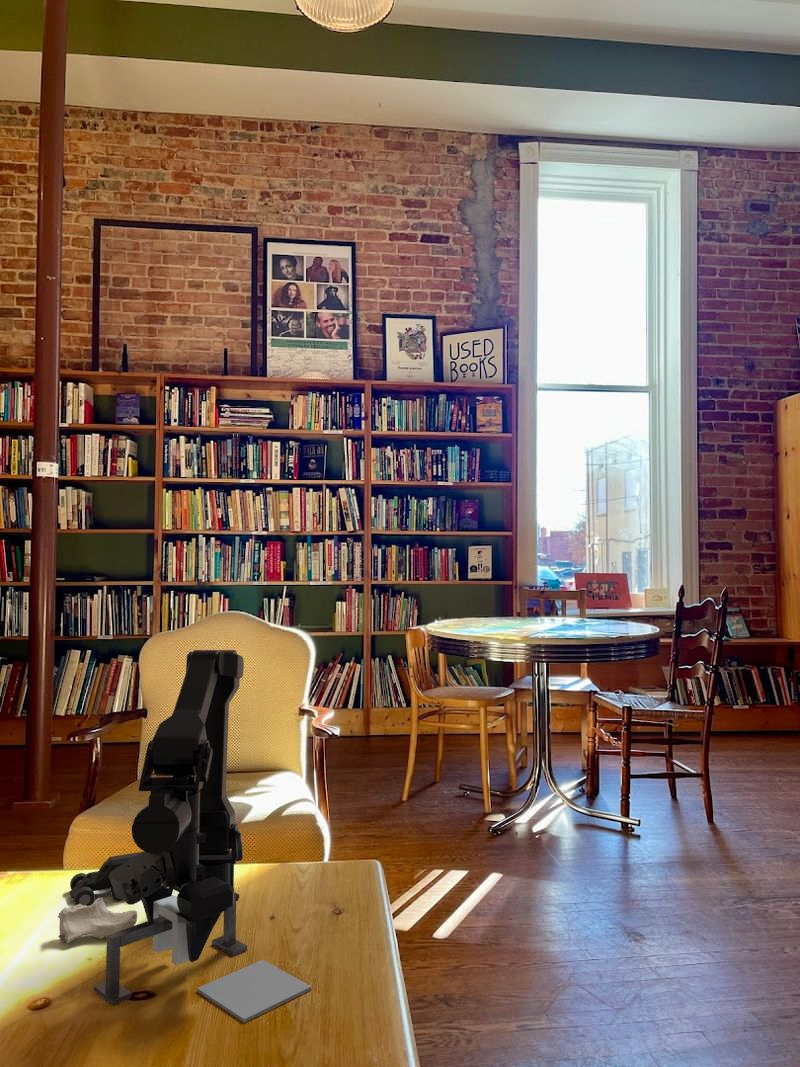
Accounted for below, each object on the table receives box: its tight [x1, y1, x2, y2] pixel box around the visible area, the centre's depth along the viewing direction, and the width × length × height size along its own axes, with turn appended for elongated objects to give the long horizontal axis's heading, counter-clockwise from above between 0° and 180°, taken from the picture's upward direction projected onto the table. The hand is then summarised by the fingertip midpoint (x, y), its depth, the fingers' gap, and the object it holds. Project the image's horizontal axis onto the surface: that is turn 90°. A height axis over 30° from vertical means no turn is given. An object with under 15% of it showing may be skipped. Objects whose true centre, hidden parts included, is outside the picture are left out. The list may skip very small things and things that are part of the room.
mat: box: [196, 959, 312, 1024], centre depth 95 cm, size 10×10×1 cm
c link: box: [152, 894, 190, 966], centre depth 101 cm, size 3×6×6 cm, turn 47°
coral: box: [57, 897, 138, 944], centre depth 111 cm, size 6×10×4 cm, turn 117°
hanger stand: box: [93, 894, 248, 1006], centre depth 101 cm, size 19×5×7 cm, turn 137°
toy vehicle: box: [68, 851, 143, 906], centre depth 127 cm, size 8×15×9 cm, turn 118°
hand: (174, 949), depth 101 cm, fingers open, 9 cm apart
